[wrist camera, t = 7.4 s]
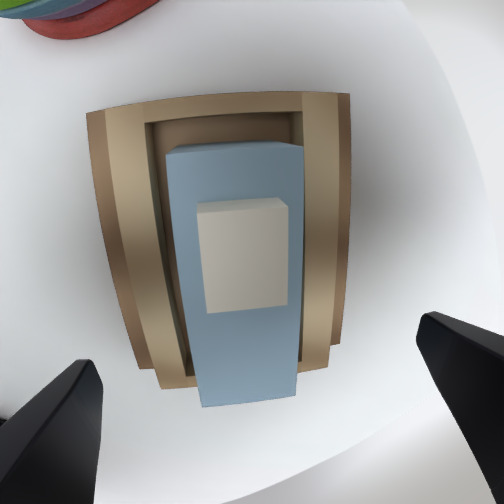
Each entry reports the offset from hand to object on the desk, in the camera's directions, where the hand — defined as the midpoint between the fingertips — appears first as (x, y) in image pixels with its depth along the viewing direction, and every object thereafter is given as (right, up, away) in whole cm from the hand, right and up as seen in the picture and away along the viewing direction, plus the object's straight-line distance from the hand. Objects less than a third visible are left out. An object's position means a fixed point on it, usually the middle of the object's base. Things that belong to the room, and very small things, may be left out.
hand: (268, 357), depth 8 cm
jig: (-2, +3, +9) cm, 10 cm away
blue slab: (-1, +3, +8) cm, 8 cm away
